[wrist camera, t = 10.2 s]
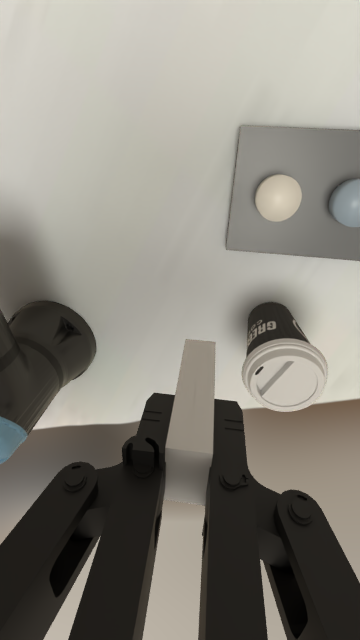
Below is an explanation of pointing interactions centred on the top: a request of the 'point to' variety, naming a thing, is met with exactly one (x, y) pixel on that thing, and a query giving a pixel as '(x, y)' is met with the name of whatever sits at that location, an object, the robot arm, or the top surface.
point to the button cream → (278, 197)
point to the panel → (316, 186)
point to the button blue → (346, 203)
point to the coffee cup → (281, 361)
